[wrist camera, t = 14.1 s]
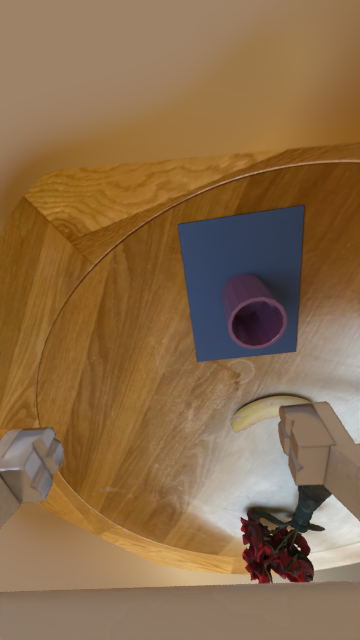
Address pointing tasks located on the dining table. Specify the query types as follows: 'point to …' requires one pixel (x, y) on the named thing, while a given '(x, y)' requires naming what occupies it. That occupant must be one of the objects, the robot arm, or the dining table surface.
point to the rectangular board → (239, 258)
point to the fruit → (261, 411)
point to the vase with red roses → (282, 540)
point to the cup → (252, 312)
